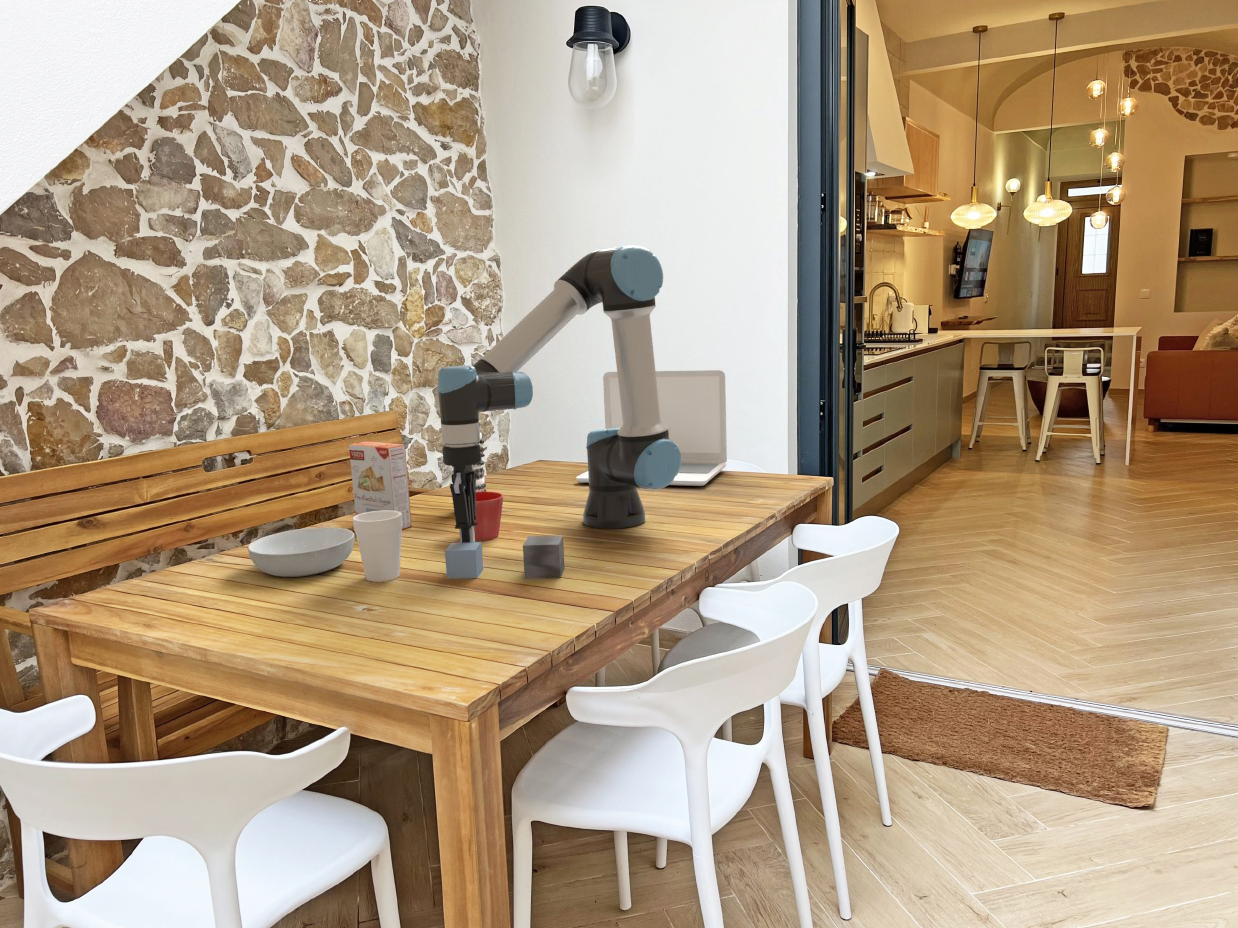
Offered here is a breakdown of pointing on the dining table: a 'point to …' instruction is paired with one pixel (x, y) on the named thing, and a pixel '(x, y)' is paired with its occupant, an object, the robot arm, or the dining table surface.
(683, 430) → the laptop
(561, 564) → the charcoal block
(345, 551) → the serving bowl
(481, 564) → the slate-blue block
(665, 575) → the dining table surface
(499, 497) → the flower pot
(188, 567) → the dining table surface
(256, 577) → the dining table surface
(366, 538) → the foam cup
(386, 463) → the cracker box
